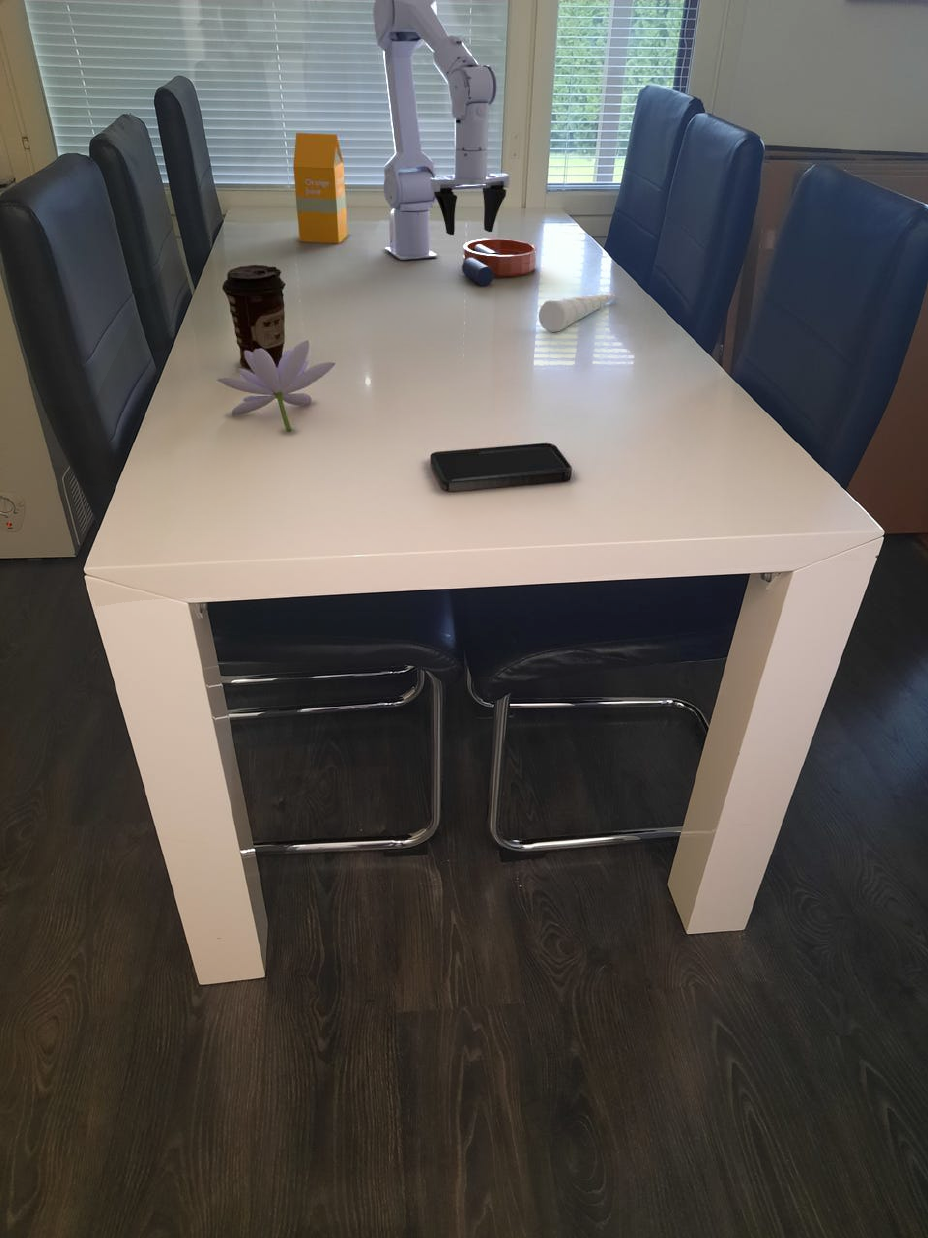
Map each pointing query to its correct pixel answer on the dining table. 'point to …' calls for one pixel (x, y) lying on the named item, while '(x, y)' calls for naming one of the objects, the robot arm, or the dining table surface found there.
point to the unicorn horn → (569, 310)
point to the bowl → (504, 256)
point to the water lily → (276, 379)
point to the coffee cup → (257, 310)
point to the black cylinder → (484, 250)
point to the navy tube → (477, 271)
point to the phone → (499, 466)
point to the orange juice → (319, 188)
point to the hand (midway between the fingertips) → (469, 232)
